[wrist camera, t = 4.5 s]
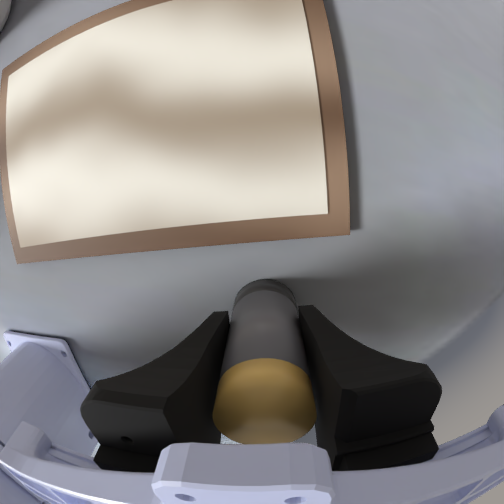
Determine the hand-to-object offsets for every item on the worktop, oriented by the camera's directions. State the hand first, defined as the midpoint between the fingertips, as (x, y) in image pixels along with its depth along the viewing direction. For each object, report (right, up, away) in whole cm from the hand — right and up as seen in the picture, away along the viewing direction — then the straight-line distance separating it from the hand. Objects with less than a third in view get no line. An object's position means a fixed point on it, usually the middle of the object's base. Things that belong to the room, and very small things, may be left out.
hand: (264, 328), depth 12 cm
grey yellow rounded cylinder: (0, +1, +2) cm, 2 cm away
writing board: (-6, +10, -1) cm, 12 cm away
